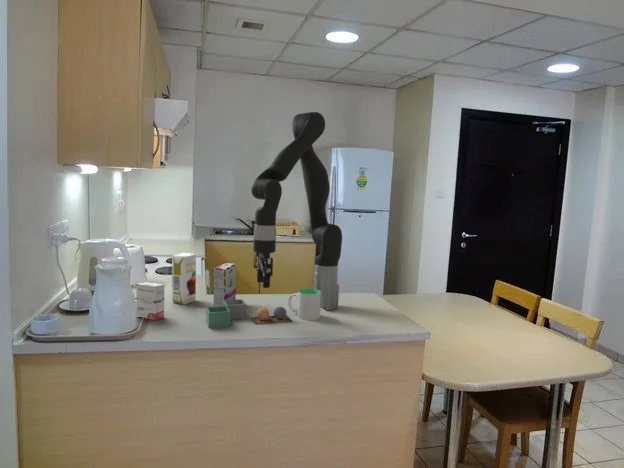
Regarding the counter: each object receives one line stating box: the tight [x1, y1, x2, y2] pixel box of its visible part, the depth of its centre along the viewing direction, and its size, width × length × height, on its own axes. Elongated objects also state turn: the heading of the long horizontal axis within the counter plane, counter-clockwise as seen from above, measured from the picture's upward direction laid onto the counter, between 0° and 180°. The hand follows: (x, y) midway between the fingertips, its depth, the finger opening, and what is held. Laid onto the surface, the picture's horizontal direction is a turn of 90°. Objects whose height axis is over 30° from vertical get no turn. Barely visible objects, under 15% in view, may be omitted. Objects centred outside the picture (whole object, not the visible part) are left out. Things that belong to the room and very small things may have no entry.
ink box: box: [135, 281, 166, 321], centre depth 167 cm, size 9×5×12 cm, turn 71°
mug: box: [287, 288, 321, 321], centre depth 172 cm, size 12×8×10 cm
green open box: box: [205, 306, 231, 329], centre depth 159 cm, size 7×7×6 cm
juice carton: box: [171, 252, 197, 305], centre depth 187 cm, size 8×9×19 cm
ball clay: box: [255, 307, 270, 321], centre depth 165 cm, size 4×4×4 cm
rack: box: [250, 314, 293, 326], centre depth 166 cm, size 13×7×2 cm, turn 110°
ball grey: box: [272, 306, 287, 320], centre depth 167 cm, size 4×4×4 cm
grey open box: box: [223, 298, 247, 320], centre depth 169 cm, size 7×7×6 cm
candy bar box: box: [213, 262, 237, 307], centre depth 181 cm, size 11×5×16 cm, turn 168°
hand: (263, 284), depth 163 cm, fingers open, 8 cm apart
